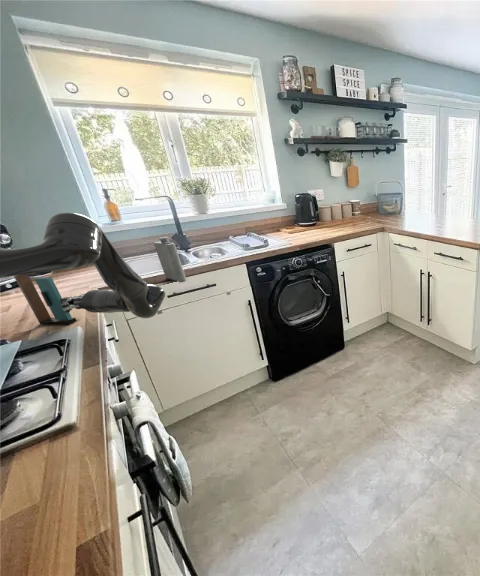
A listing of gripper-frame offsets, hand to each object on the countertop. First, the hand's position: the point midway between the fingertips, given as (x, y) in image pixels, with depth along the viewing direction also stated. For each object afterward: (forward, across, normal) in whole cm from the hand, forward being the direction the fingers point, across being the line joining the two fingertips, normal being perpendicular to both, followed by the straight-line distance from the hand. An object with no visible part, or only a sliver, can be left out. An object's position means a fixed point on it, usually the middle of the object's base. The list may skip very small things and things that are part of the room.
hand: (63, 301), depth 103 cm
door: (+4, 0, +7) cm, 8 cm away
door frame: (+7, 0, +8) cm, 11 cm away
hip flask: (-2, -43, +8) cm, 44 cm away
